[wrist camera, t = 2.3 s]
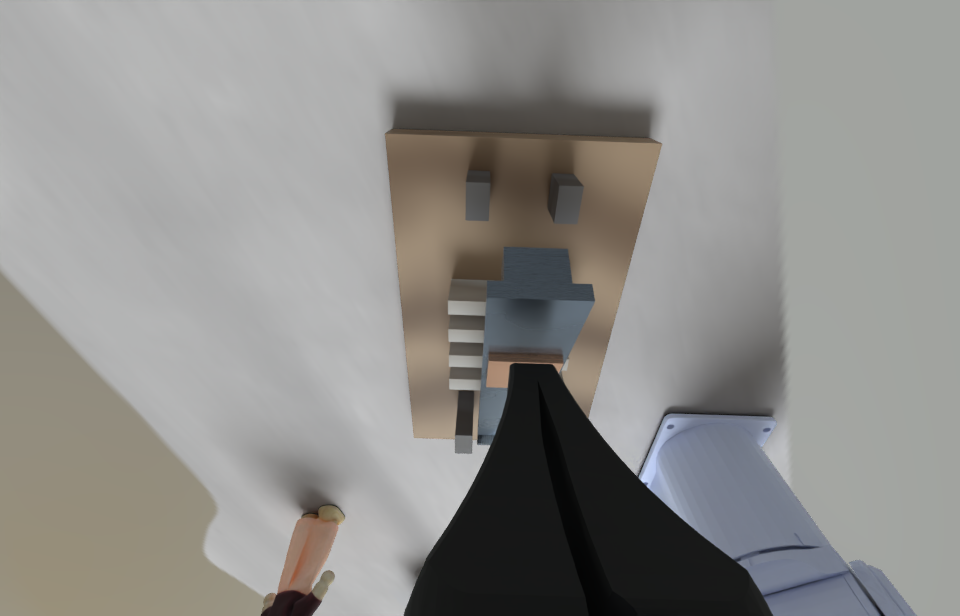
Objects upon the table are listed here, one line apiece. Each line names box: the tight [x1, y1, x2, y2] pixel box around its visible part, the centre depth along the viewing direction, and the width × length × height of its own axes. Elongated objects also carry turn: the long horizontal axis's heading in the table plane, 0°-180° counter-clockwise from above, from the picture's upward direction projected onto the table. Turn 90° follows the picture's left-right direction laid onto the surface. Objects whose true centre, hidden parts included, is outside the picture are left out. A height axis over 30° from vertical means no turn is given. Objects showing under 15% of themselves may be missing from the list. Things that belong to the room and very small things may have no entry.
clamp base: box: [385, 129, 662, 454], centre depth 21 cm, size 20×12×5 cm, turn 178°
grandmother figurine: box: [261, 505, 345, 616], centre depth 31 cm, size 8×4×13 cm, turn 136°
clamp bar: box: [477, 247, 595, 445], centre depth 17 cm, size 15×3×2 cm, turn 178°
